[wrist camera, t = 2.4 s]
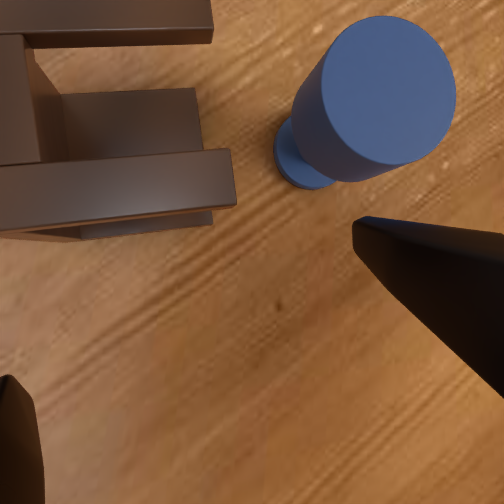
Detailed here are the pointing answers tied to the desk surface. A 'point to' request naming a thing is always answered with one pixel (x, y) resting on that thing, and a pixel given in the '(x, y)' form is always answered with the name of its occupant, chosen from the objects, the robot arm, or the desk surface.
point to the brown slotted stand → (102, 128)
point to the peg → (367, 106)
